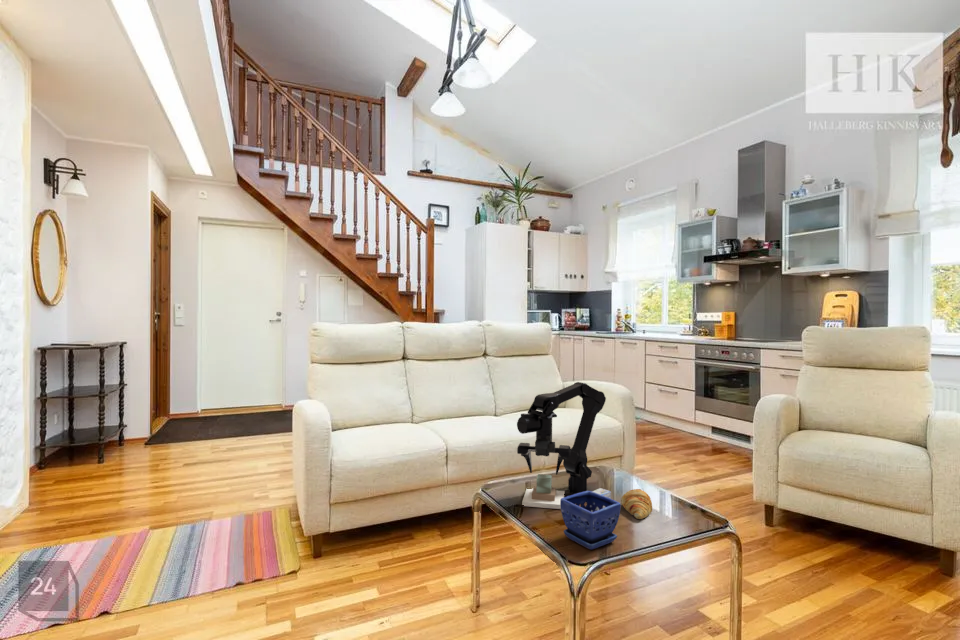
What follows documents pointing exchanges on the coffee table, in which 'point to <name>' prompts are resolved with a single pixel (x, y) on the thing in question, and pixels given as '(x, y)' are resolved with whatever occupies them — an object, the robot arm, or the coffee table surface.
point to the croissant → (637, 503)
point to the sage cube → (544, 483)
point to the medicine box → (602, 492)
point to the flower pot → (590, 518)
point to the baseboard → (542, 502)
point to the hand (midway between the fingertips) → (543, 473)
